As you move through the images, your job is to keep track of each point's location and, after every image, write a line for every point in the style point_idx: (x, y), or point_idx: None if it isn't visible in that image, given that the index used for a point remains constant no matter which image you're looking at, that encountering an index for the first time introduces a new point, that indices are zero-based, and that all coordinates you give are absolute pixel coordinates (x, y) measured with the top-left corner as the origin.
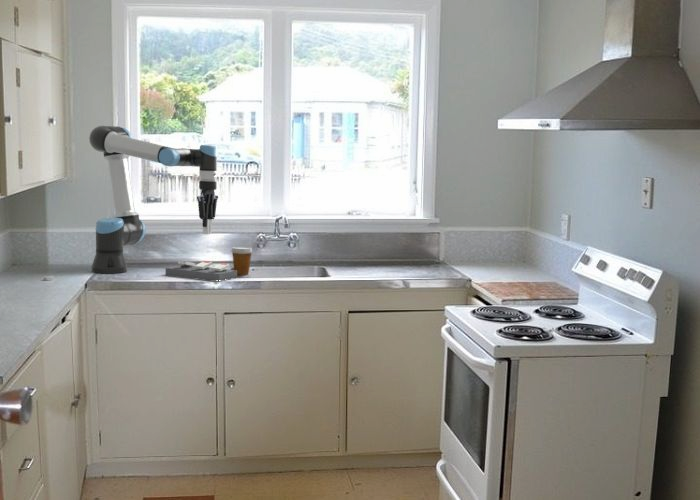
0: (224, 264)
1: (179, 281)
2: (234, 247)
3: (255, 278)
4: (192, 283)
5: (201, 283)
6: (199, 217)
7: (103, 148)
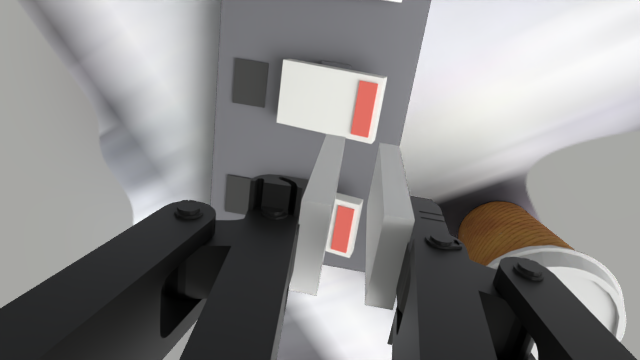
0: (333, 236)
1: (111, 62)
2: (567, 271)
3: (389, 327)
4: (104, 145)
5: (130, 179)
6: (171, 204)
7: None
